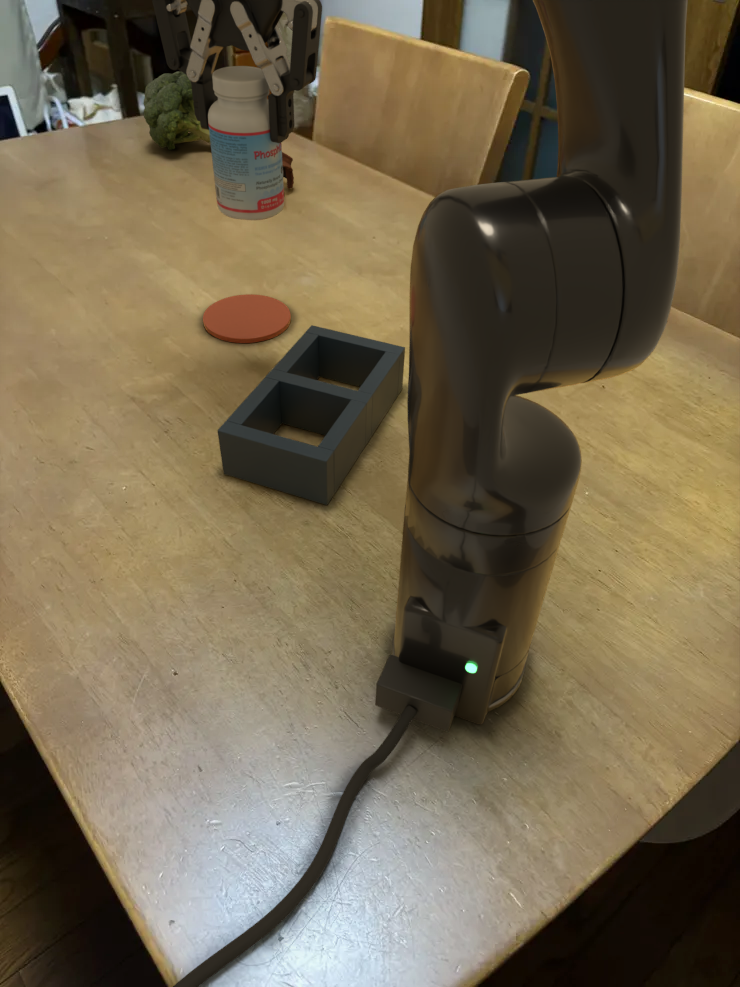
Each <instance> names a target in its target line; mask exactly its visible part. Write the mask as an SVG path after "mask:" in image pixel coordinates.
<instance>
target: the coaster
mask: <svg viewBox="0 0 740 987" xmlns="http://www.w3.org/2000/svg"><path fill="white" fill-rule="evenodd" d="M291 315H292V314H291V310H290V308H289V307H288V306H287V305H286V304H285V303H284V302H282V301H281V300H279V299H277V298H274V297H271V296H268V295H262V294H251V293H249V294H247V293H246V294H237V295H232V296H228V297H224V298H221V299H219V300H217V301H215V302H213V303H212V304H210V305H209V306H208V307H207V308H206V309H205V310H204V312H203V315H202V323H203V327H204V329H205V330H206V331H207V333H208V334H210V335H211V336H212V337H214V338H215V339H219V340H222V341H224V342H229V343H236V344H253V343H260V342H264V341H268V340H271V339H274V338H276V337H278V336H279V335H281V334H283V333H284V332H285V331H286V330H287V329H288V328H289V326H290V325H291V321H292V316H291Z"/></svg>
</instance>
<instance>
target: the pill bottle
mask: <svg viewBox="0 0 740 987" xmlns="http://www.w3.org/2000/svg"><path fill="white" fill-rule="evenodd" d="M212 79H213V90H214V91H215V92H214V93H215V95H216V96H217V97H218V100H217V101H215V102H214V103H213V104H212V105H211V107H210V109H209V112H208V124H209V134H210V143H209V144H210V151H211V160H212V171H213V180H214V189H215V197H216V205H217V208H218V210H219V211H220V213H221V214H223V215H224V216H225V217H228V218H231V219H234V220H242V221H243V220H244V221H264V220H268V219H270V218H274V217H275V216H277V215H278V214H279V213H281V212H282V211H283V209H284V207H285V190H284V187H285V186H284V177H283V166H282V152H283V148H282V145H283V144H282V142H281V143H275V142H272V141H271V139H270V123H269V105H268V95H270V88H269V86H268V84H267V82H266V79H265V77H264V75H263V72H262V70H261V69H260V68H259V67H257V66H256V67H255V66H250V65H249V66H248V65H234V66H233V65H232V66H224V67H221V68H218V69H215V70H214V72H213V73H212Z"/></svg>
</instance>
